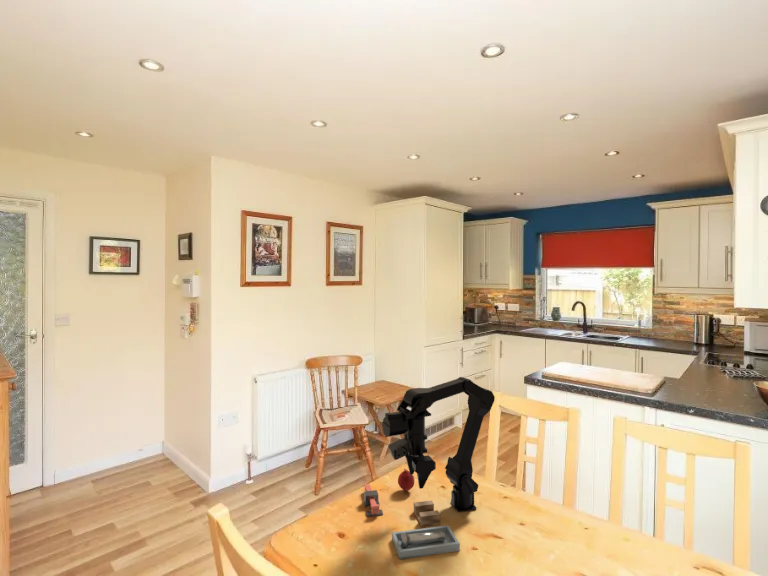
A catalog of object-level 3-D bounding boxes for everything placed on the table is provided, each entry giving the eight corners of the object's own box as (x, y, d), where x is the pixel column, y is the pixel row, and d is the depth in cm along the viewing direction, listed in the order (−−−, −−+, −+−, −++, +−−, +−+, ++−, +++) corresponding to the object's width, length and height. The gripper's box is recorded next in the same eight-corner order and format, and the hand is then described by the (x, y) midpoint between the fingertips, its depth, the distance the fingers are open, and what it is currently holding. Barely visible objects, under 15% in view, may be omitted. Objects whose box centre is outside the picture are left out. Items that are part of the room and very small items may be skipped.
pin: (441, 538, 116) (441, 526, 116) (445, 545, 112) (445, 533, 112) (399, 542, 113) (400, 530, 113) (403, 550, 110) (403, 537, 110)
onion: (414, 487, 145) (414, 465, 145) (414, 496, 139) (414, 472, 139) (398, 486, 145) (398, 464, 145) (397, 495, 140) (397, 472, 140)
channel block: (431, 509, 131) (431, 500, 131) (440, 524, 123) (440, 514, 123) (413, 511, 129) (413, 502, 129) (421, 526, 122) (421, 516, 122)
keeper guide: (377, 500, 136) (377, 490, 136) (382, 514, 128) (382, 503, 128) (363, 502, 135) (363, 491, 135) (367, 516, 127) (367, 505, 127)
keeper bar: (370, 488, 142) (370, 481, 142) (379, 513, 127) (379, 505, 127) (363, 488, 142) (363, 482, 142) (371, 514, 126) (371, 506, 126)
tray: (448, 531, 119) (448, 525, 119) (459, 550, 110) (459, 543, 110) (392, 539, 115) (392, 532, 115) (399, 559, 107) (399, 552, 107)
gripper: (383, 423, 133) (383, 470, 133) (399, 445, 114) (399, 500, 115) (415, 420, 135) (416, 466, 135) (436, 441, 117) (436, 494, 117)
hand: (416, 481), depth 126 cm, fingers open, 9 cm apart
